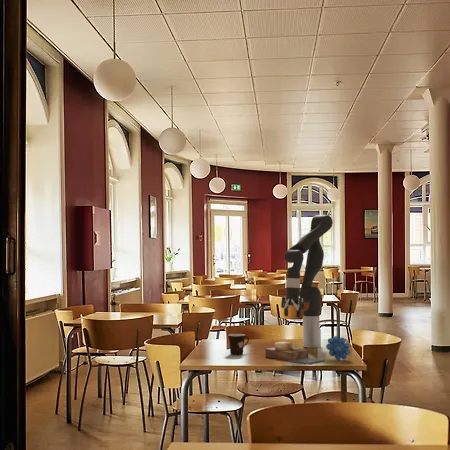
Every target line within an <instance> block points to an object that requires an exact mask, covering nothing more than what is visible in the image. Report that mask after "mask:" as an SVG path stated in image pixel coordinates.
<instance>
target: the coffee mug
mask: <svg viewBox="0 0 450 450" xmlns="http://www.w3.org/2000/svg"><path fill="white" fill-rule="evenodd" d="M245 339H247V341H246V343H245ZM249 341H250V338H249V336H246V334H243V333H230V334H228V344H229V352H230V355H231V356H243V355H244V348H245V347H246V346H247V345H248V344H249Z"/></svg>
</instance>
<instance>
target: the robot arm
mask: <svg viewBox="0 0 450 450" xmlns="http://www.w3.org/2000/svg"><path fill="white" fill-rule="evenodd" d="M333 225H334V224H333V218H332V216H330V215H328V214H317V215H314V216H313V217H311V222H310V231H309V232H307V233H306V234H304V235H303V236H302V237H300V239H299V240H298V242H297V243H296V244H294V245H292V246H291V247H290V248H288V249H287V250H286V252H285V254H284V256H283V257H284V261H285V262H286V263H289V264H292V266H289V267H288V268H286V269H287V270H286V282H285V283H286V284H285V286H286V287H285V295H286V296H281V305H280V307H281V308H282V309H284V310H283V316H285V317H289V308H290V307H291V306H292V307H293V306H294V307H295V309H296V315H295V316H296V318H301V314H302V342H303V343H302V344H303V345H302V347H303V348H304V347H305V348H310V349H314V348H315V349H316V348H320V347H322V338H321V337H322V331H321V328H320V325H321V324H320V322H321V321H320V315H321V314H320V313H321V309H322V308H321V307H322V304H321V303H322V293H321V290H320V288H319V287H315V286H313V283H314V280H315V277H316V276H317V275H318V274H319V272H320V271H321V269H322V267H323V265H324V264H323V262H324V256H325V253H324V252H325V251H324V249H323V247H322V244H321V239H320V238H321V237H323V236H324V235H325V234H326V233H327V232H329V231H330V230H331V229H332V227H333ZM305 253H307V255H306V263H305V268H304V275H303V279H302V283H301V270H302V266H303V263H304V254H305ZM305 304H309V305H308V308H305ZM301 311H302V312H301Z"/></svg>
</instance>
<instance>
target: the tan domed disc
mask: <svg viewBox="0 0 450 450" xmlns="http://www.w3.org/2000/svg"><path fill="white" fill-rule="evenodd" d="M274 347H275V349H276V350H283V351H286V350H293V348H294V343H293V342H292V341H291V342H290V341H277V342H274Z"/></svg>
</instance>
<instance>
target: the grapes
mask: <svg viewBox="0 0 450 450" xmlns="http://www.w3.org/2000/svg"><path fill="white" fill-rule="evenodd" d="M350 346H351V345H350V343H348V342H346V338H345V337H342V336H341V337H339V336H337V335H333V336H332V338H331V337H329V338H327V344H326V349H327V351H328V354H329V356H330V357H334V359H335V360H337V361H340V360H341V359H342V360H344V361H345V360H347V357H348V356H349V355H351V350H350V349H349V348H351V347H350Z"/></svg>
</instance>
